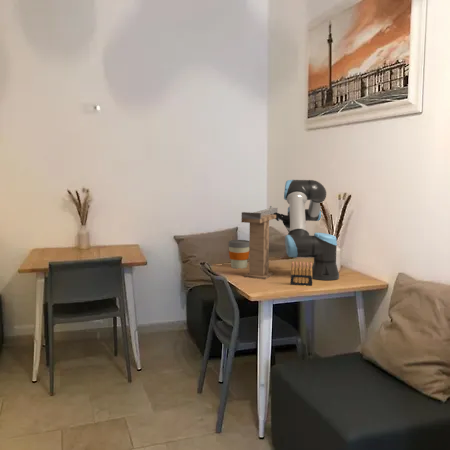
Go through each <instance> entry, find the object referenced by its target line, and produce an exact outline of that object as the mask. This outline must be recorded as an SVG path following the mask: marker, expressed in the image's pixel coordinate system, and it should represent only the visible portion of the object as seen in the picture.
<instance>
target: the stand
mask: <svg viewBox="0 0 450 450" xmlns="http://www.w3.org/2000/svg"><path fill="white" fill-rule="evenodd" d="M275 218H276V215H275V214H269V215H266V216H262V217H261V213H253V212H250V211H249V212H245V211H242V212H241V221H240V222H241V223H248V224H249V240H248V241H249V259H248V260H249V261H248V263H249V264H248V272H247V273H246V274H244V275H243V277H244V278H250V279H259V280H260V279H261V280H267V279H268V278H271V277H272V276H273V275H274V272H269V264H270V263H269V260H270V259H269V258H270V257H269V255H270V251H269V250H270V248H269V247H270V245H269V243H270V242H269V241H270V221H272V220H276V219H275Z"/></svg>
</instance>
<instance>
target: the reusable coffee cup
mask: <svg viewBox="0 0 450 450" xmlns="http://www.w3.org/2000/svg"><path fill="white" fill-rule="evenodd" d="M228 256H229V259H230V265H231V266H230V267H231V268H232V269H238V268H241V269H246V268H247V267H248V262H249V261H248V260H249V240H246V239H232V240H231V239H230V240H229V241H228Z"/></svg>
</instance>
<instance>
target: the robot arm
mask: <svg viewBox="0 0 450 450" xmlns="http://www.w3.org/2000/svg"><path fill="white" fill-rule="evenodd" d="M283 194H284V195H283V199H284V200H285V201H286V203H288V205H289V206H288V207H287V215H286V214H283V213H279V212H277V213H273V214H275V215H276V218H275V219H274V220H276V221H277V222H280V221H282V224H283V225H284V228H285V229H286V231H287V235H285V236H284V245H285V252H286V255H287V256H288V257H290V258H313V263H312V280H313V279H314V280H319V281H334V280H338V279H340V273H339V270H338V265H337V250H338V249H337V247H338V241H337V236H335V235H332V234H330V233H326V232H314V234H313V235H311V234H310V233H309V231H308V230H307V225H306V222H310V221H311V222H319V220H320V218H321V211H320V210H322V206H320V203H322V204H323V202H324V201H326V198H327V189H326V188H325V187H324V185H323V184H322V183H321V182H320V181H317V180H313V179H288V180H286V181H285V184H284V192H283ZM307 201H309V204H308V208H306V207H305V204H306V203H307ZM269 208H273V207H272V205H270V206H269Z"/></svg>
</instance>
